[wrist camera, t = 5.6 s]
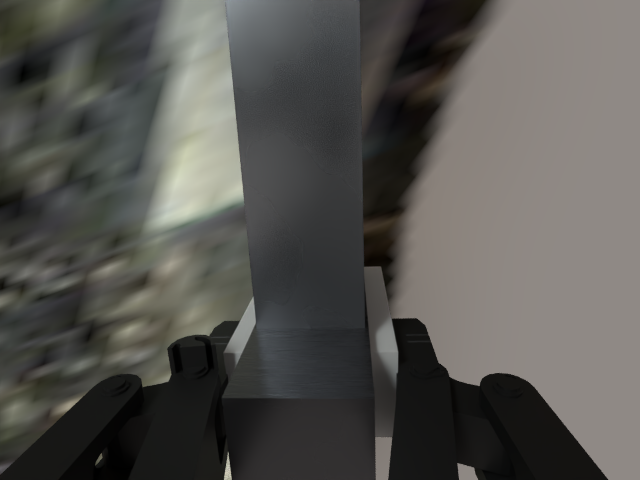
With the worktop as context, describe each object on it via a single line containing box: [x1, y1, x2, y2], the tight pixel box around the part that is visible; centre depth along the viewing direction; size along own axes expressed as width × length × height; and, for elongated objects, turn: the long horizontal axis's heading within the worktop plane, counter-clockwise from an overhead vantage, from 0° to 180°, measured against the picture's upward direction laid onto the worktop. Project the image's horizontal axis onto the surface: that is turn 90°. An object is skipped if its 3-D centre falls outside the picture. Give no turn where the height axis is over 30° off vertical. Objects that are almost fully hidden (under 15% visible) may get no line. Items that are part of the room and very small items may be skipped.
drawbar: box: [222, 0, 376, 480], centre depth 10 cm, size 23×3×8 cm, turn 3°
